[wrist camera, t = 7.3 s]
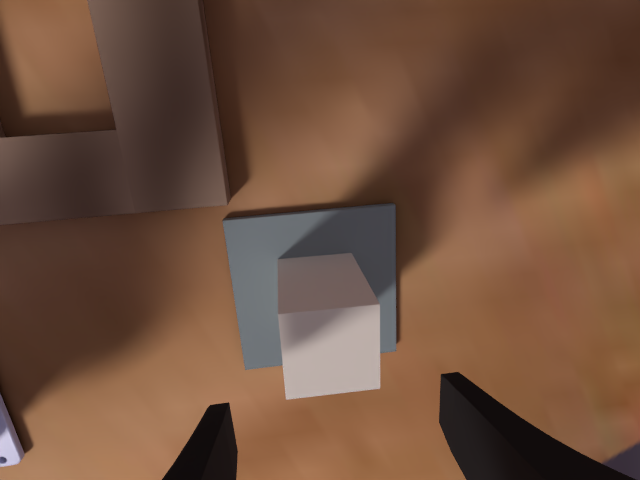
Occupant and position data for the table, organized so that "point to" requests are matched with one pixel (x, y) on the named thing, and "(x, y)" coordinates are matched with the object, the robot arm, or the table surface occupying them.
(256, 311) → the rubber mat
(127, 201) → the puzzle board
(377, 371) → the cream block
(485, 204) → the table surface
